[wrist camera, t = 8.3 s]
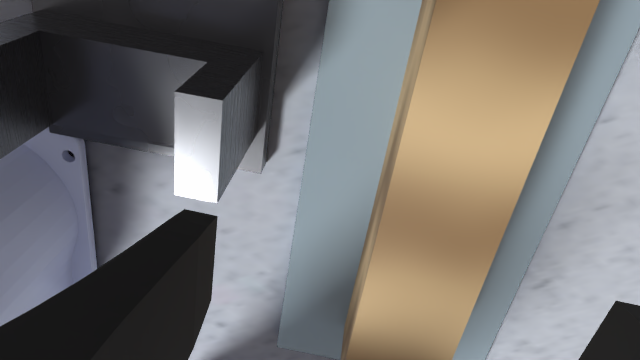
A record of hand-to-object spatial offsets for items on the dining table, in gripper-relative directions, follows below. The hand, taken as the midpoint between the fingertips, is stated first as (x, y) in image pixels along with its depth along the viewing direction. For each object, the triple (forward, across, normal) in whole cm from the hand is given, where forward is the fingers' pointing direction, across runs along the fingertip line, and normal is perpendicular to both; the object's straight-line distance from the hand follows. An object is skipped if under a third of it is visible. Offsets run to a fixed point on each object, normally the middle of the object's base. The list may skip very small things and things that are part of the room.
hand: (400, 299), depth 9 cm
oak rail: (+9, -2, +2) cm, 9 cm away
